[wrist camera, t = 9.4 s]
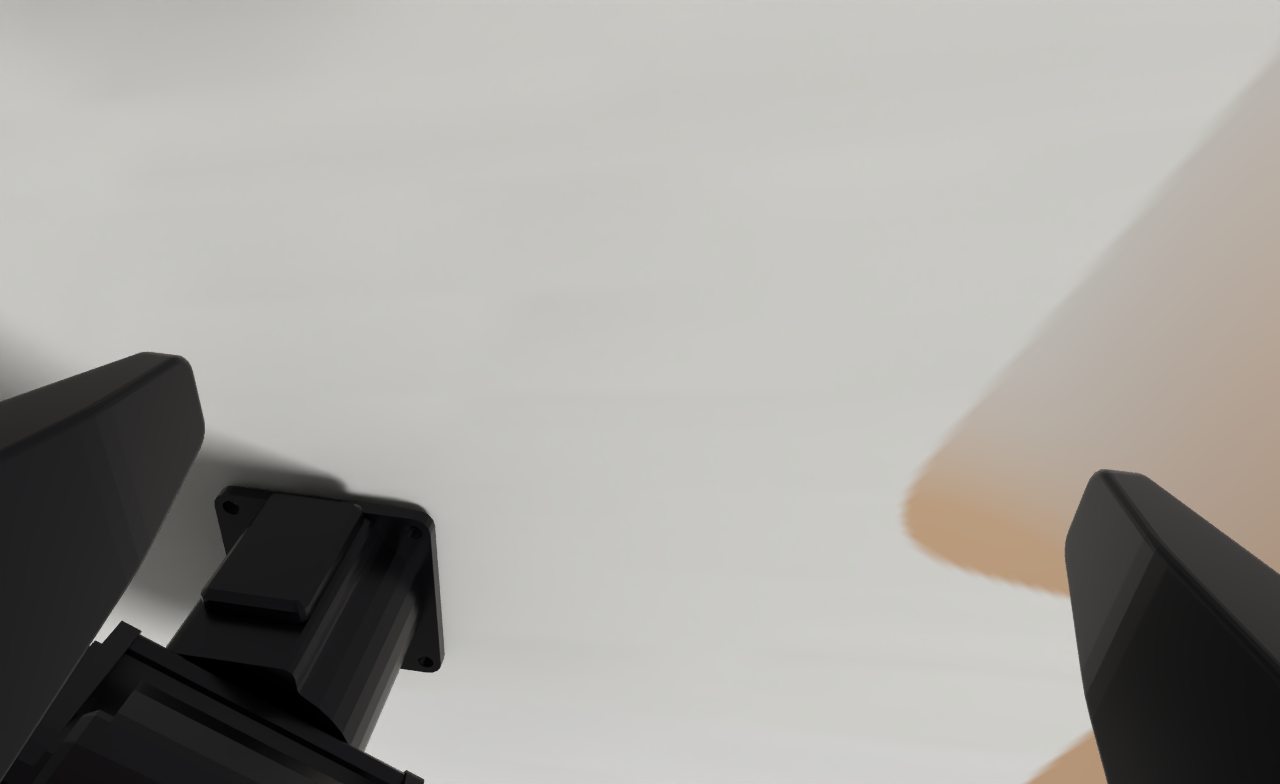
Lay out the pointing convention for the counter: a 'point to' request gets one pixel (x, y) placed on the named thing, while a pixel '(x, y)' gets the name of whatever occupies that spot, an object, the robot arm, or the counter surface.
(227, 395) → the counter surface
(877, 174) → the counter surface
